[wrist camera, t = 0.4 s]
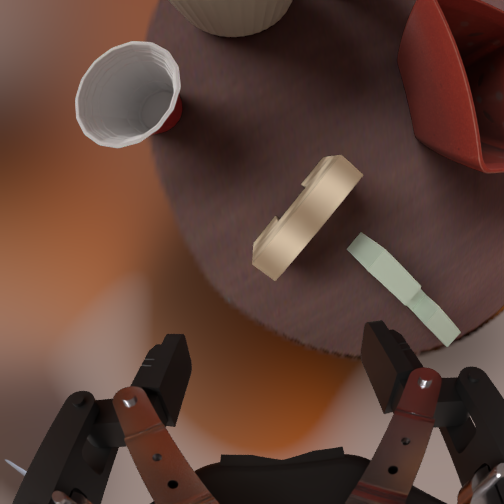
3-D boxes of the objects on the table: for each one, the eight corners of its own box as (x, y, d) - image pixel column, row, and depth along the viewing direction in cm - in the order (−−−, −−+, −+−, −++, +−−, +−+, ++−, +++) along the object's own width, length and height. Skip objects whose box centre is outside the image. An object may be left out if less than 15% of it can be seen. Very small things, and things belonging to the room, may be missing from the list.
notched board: (346, 249, 36) (367, 270, 29) (360, 231, 36) (385, 249, 28) (423, 321, 39) (447, 347, 32) (435, 307, 39) (460, 332, 31)
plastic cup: (201, 152, 33) (172, 145, 22) (123, 153, 33) (70, 152, 22) (208, 71, 30) (185, 32, 18) (130, 77, 30) (84, 50, 19)
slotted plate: (323, 157, 33) (341, 154, 25) (341, 172, 33) (363, 175, 26) (253, 243, 36) (252, 264, 29) (272, 257, 37) (275, 281, 29)
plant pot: (398, 166, 33) (482, 174, 17) (367, 36, 27) (423, -22, 11) (488, 160, 31) (565, 170, 15) (464, 50, 26) (529, 25, 10)
